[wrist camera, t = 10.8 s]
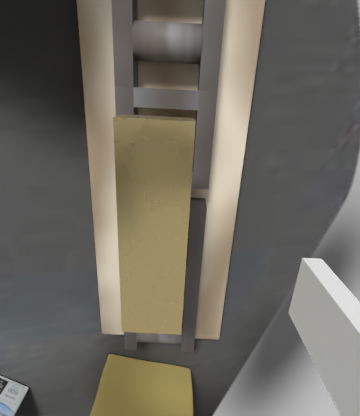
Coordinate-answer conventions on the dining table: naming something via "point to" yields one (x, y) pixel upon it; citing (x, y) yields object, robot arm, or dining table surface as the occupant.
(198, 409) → the dining table surface
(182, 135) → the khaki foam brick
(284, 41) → the dining table surface
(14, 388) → the light bulb box
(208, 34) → the chain jig
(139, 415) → the cheese
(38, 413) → the dining table surface
